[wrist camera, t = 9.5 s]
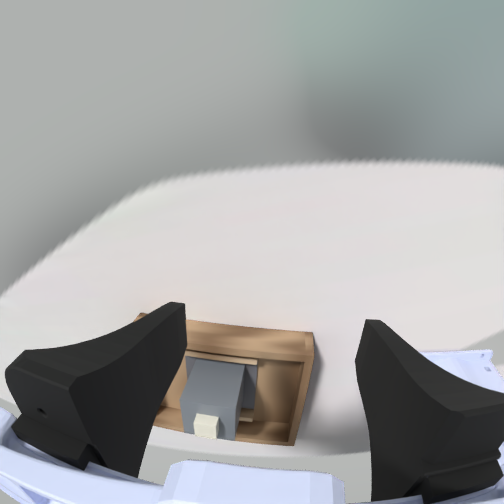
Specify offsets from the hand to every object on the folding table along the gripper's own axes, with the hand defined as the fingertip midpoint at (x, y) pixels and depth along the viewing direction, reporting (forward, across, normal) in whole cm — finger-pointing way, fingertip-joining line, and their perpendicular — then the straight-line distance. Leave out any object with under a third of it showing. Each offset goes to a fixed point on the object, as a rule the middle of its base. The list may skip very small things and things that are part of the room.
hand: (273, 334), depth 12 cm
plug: (+10, +4, +12) cm, 16 cm away
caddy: (+10, +4, +12) cm, 16 cm away
